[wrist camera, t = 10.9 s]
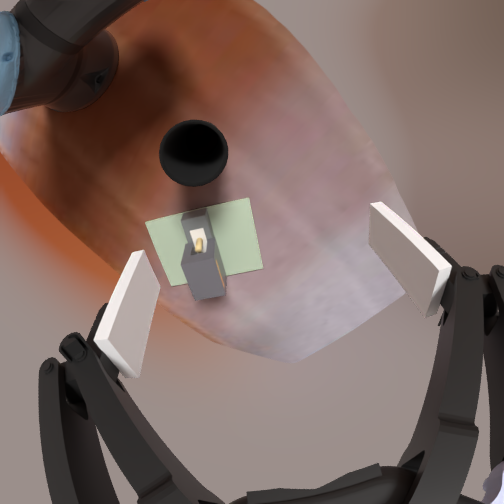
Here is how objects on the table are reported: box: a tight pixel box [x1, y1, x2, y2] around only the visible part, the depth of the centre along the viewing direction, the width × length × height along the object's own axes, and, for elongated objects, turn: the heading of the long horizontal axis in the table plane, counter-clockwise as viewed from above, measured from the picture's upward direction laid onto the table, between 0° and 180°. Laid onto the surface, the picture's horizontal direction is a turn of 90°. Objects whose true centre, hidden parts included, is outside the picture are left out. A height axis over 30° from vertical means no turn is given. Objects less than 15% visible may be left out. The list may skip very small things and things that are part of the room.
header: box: [145, 198, 263, 286], centre depth 45 cm, size 14×18×6 cm
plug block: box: [181, 237, 226, 301], centre depth 42 cm, size 7×5×6 cm
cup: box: [159, 120, 228, 187], centre depth 33 cm, size 8×8×12 cm
